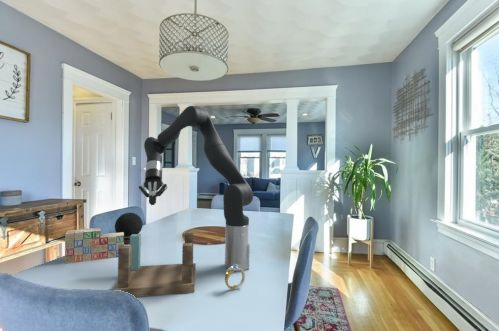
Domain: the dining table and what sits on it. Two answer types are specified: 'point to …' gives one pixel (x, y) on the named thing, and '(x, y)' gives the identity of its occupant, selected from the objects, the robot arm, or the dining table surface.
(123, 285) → the wooden rack
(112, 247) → the stack of blocks
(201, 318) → the dining table surface
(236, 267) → the bracelet
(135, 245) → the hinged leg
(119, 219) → the black ball on pedestal
